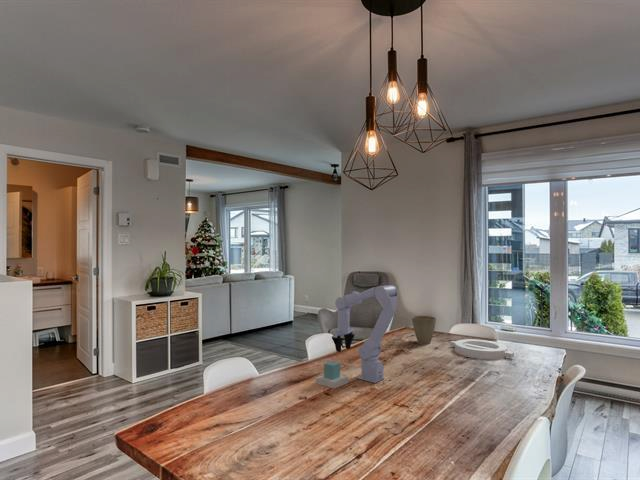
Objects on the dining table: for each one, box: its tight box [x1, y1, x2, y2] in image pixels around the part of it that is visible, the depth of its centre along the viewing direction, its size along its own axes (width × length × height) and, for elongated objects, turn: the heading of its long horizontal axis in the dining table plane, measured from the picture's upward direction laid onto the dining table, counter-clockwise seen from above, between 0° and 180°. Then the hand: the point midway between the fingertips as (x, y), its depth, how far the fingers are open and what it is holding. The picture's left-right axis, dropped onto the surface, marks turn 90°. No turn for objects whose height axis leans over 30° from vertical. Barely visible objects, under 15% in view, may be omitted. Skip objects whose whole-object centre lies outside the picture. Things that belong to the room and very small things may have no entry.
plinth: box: [315, 374, 349, 389], centre depth 173 cm, size 10×10×2 cm
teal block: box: [323, 360, 341, 380], centre depth 173 cm, size 5×5×6 cm
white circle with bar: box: [449, 338, 515, 360], centre depth 227 cm, size 28×28×5 cm
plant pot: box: [411, 315, 437, 345], centre depth 250 cm, size 15×15×16 cm
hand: (343, 350), depth 190 cm, fingers open, 7 cm apart
